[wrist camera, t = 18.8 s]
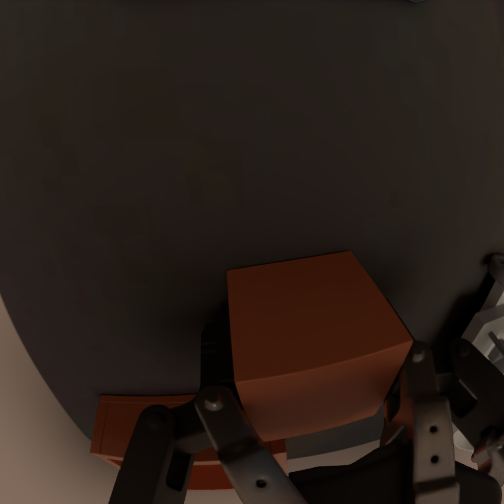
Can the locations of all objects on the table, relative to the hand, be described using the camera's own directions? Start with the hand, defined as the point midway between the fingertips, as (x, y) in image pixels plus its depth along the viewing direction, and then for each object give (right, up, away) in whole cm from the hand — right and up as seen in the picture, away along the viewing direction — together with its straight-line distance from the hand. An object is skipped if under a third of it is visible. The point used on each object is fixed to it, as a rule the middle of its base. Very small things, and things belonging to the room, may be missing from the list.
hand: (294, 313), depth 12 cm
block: (0, 0, 0) cm, 0 cm away
